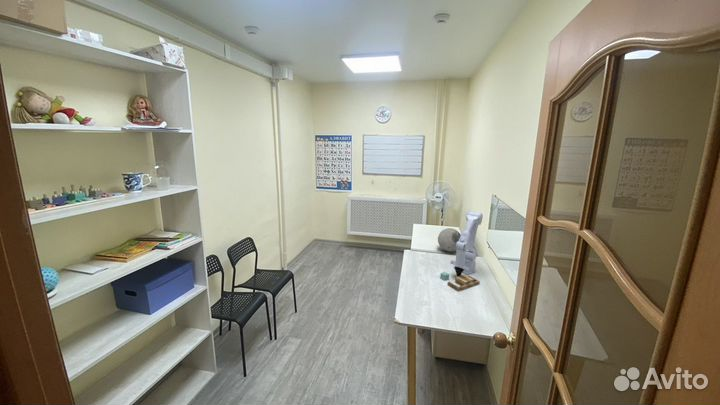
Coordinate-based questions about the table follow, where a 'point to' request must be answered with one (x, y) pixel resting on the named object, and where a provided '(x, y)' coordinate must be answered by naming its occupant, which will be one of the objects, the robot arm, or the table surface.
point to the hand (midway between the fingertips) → (458, 276)
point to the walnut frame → (462, 285)
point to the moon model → (448, 239)
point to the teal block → (444, 276)
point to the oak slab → (465, 279)
